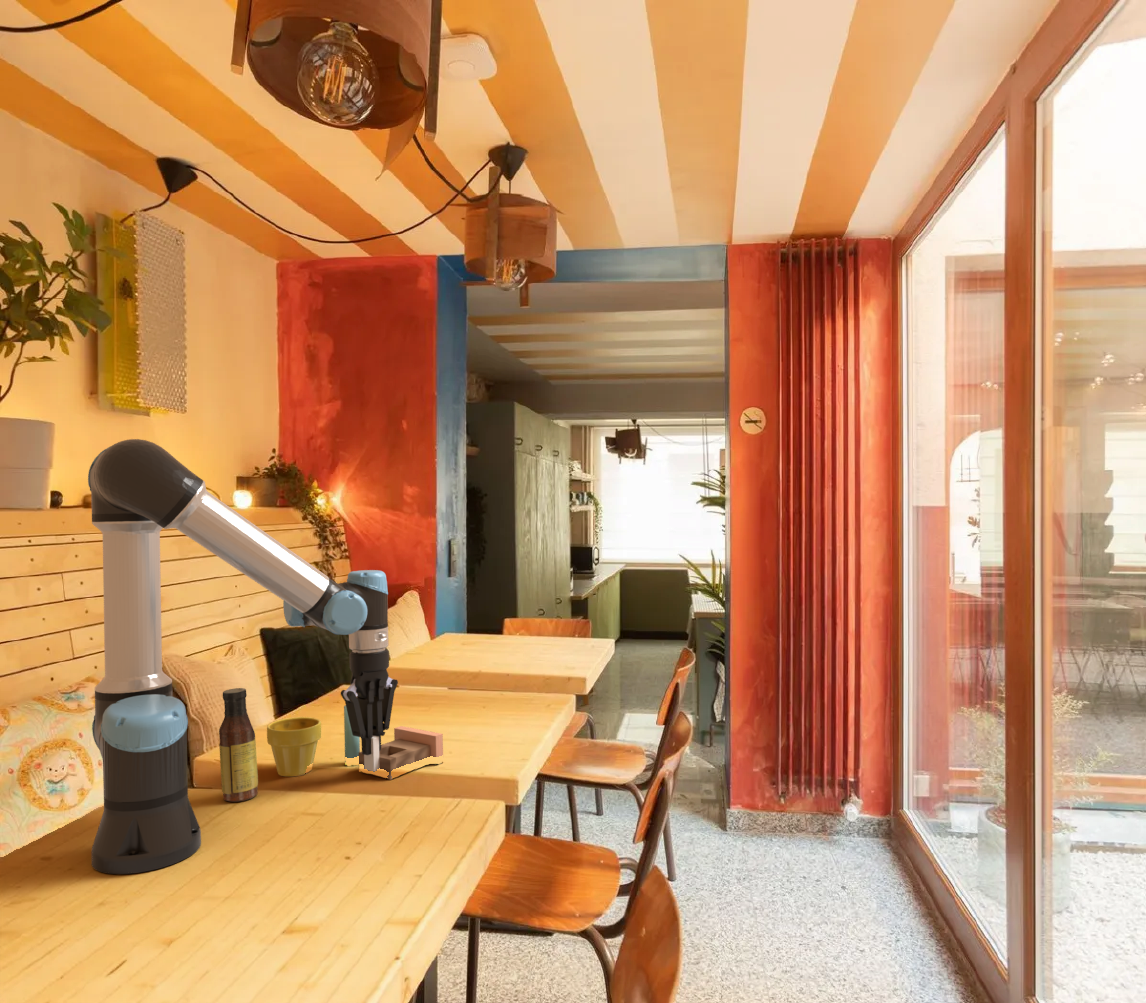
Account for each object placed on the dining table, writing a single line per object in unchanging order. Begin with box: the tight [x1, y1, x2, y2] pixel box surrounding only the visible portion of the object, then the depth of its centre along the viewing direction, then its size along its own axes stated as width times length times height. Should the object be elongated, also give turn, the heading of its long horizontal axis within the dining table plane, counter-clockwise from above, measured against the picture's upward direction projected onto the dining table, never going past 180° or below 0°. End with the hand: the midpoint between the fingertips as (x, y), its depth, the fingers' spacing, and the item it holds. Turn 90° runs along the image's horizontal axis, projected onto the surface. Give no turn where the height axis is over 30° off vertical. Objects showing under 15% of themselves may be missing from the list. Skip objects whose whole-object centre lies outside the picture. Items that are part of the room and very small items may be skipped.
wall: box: [393, 725, 444, 757], centre depth 174 cm, size 2×12×6 cm, turn 56°
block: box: [359, 739, 430, 781], centre depth 169 cm, size 11×9×4 cm
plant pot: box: [266, 716, 322, 778], centre depth 168 cm, size 10×10×10 cm
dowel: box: [343, 704, 361, 758], centre depth 172 cm, size 3×3×12 cm
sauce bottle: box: [218, 687, 259, 803], centre depth 154 cm, size 6×6×20 cm
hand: (372, 769), depth 163 cm, fingers closed
